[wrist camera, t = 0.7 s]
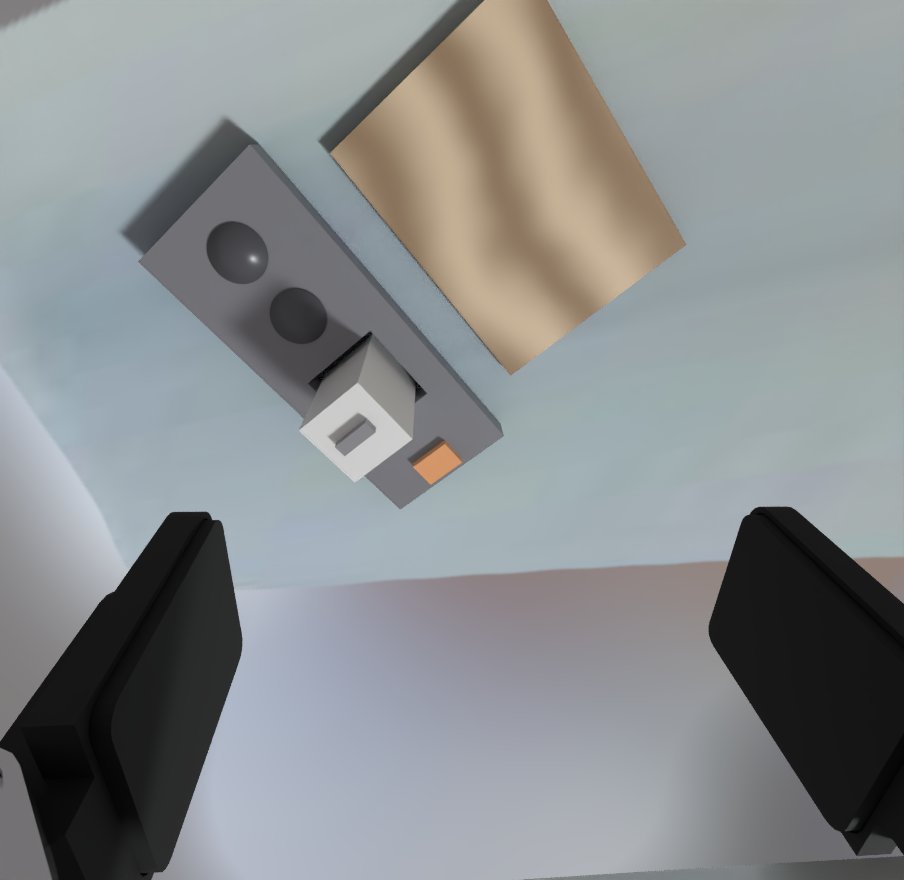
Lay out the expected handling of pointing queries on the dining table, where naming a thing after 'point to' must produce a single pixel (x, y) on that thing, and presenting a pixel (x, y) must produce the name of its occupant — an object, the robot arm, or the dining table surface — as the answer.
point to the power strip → (310, 312)
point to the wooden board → (511, 180)
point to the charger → (362, 410)
